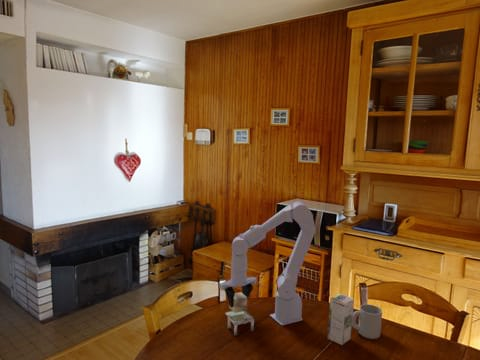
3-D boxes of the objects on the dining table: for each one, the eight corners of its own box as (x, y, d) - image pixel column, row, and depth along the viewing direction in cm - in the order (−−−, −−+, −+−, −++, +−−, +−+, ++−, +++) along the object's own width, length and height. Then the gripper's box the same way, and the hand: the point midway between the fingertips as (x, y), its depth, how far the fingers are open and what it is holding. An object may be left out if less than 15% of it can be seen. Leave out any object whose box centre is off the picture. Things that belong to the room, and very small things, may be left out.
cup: (382, 340, 118) (384, 315, 117) (352, 337, 119) (353, 312, 118) (377, 329, 125) (378, 305, 124) (348, 326, 126) (349, 302, 125)
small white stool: (245, 322, 126) (246, 311, 126) (254, 330, 121) (254, 318, 121) (227, 327, 123) (227, 315, 122) (234, 335, 118) (235, 323, 117)
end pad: (241, 310, 136) (241, 309, 136) (250, 318, 130) (250, 317, 130) (225, 313, 132) (225, 312, 132) (233, 322, 126) (233, 321, 126)
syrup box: (335, 332, 122) (338, 292, 120) (351, 339, 118) (354, 298, 116) (326, 338, 118) (329, 297, 116) (342, 346, 114) (345, 303, 112)
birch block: (240, 304, 134) (240, 292, 133) (246, 310, 130) (247, 297, 129) (228, 307, 132) (229, 294, 131) (234, 313, 127) (235, 299, 127)
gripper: (250, 263, 136) (249, 296, 137) (216, 268, 129) (215, 303, 131) (260, 269, 130) (258, 304, 131) (224, 275, 123) (223, 312, 124)
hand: (237, 304), depth 131 cm, fingers closed on birch block, 5 cm apart
